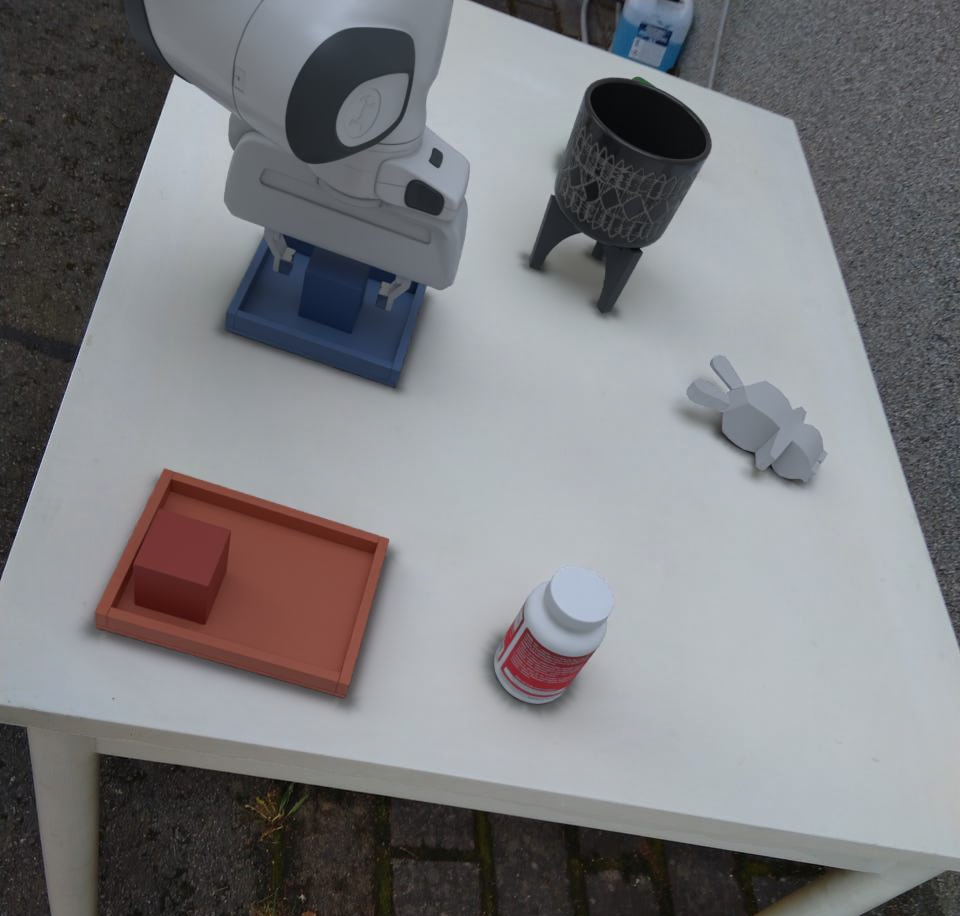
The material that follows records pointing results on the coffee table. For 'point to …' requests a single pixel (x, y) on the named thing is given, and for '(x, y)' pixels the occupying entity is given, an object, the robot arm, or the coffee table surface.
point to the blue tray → (275, 321)
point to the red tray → (261, 588)
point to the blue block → (333, 289)
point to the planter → (623, 176)
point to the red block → (181, 566)
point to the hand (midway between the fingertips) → (333, 287)
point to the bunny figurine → (762, 423)
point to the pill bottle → (554, 635)
